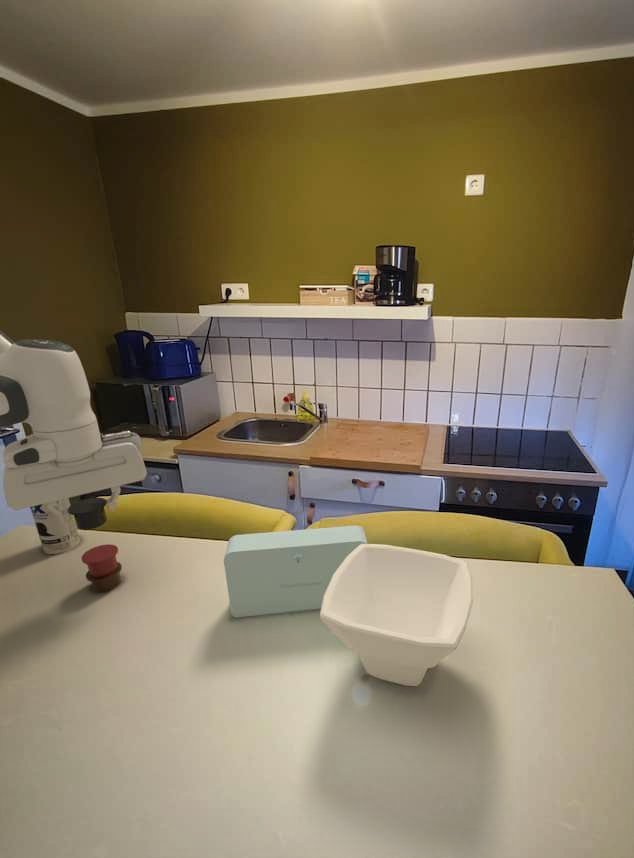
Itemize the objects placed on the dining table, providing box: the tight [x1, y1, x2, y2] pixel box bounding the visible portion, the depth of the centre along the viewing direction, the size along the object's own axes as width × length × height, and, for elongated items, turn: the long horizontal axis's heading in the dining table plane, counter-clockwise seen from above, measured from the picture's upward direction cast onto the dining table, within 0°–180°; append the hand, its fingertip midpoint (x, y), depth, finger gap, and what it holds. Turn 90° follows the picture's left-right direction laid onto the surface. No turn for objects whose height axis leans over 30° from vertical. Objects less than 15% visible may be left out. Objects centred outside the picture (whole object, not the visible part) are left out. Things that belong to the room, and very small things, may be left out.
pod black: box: [68, 497, 108, 531], centre depth 75 cm, size 6×6×4 cm
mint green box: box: [223, 524, 369, 618], centre depth 73 cm, size 23×6×13 cm, turn 98°
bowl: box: [319, 543, 474, 687], centre depth 61 cm, size 19×19×14 cm
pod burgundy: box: [81, 543, 119, 577], centre depth 79 cm, size 6×6×4 cm
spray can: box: [29, 498, 81, 555], centre depth 90 cm, size 7×7×20 cm
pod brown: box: [85, 561, 123, 593], centre depth 80 cm, size 6×6×4 cm
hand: (89, 515), depth 75 cm, fingers closed on pod black, 6 cm apart
